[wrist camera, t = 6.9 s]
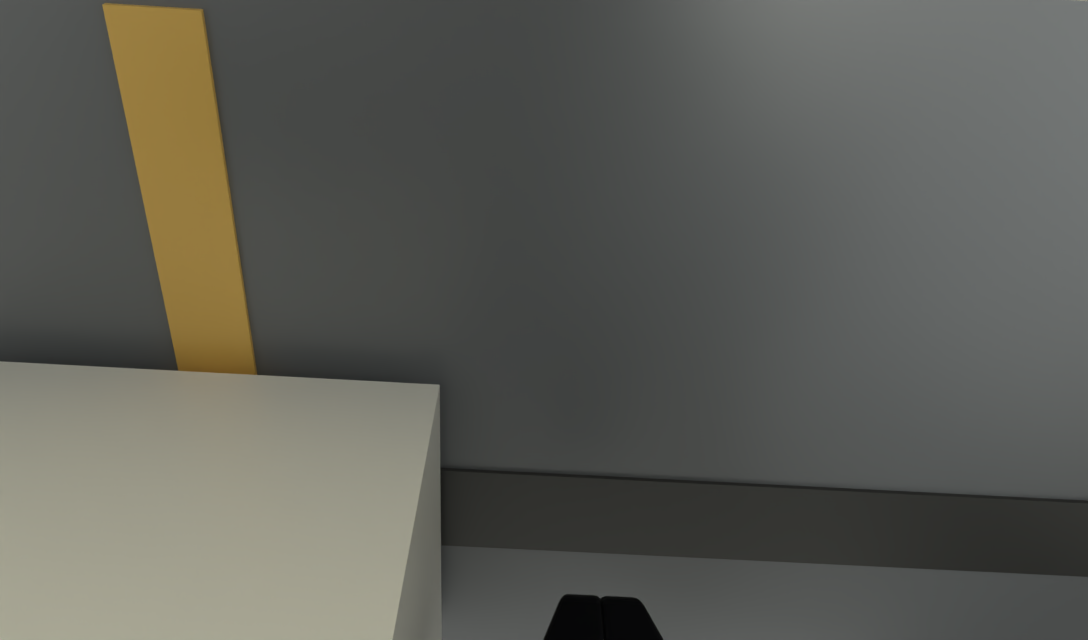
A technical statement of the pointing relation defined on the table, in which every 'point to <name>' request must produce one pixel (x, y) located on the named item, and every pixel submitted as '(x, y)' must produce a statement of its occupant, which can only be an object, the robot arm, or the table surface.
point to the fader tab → (217, 506)
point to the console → (610, 279)
